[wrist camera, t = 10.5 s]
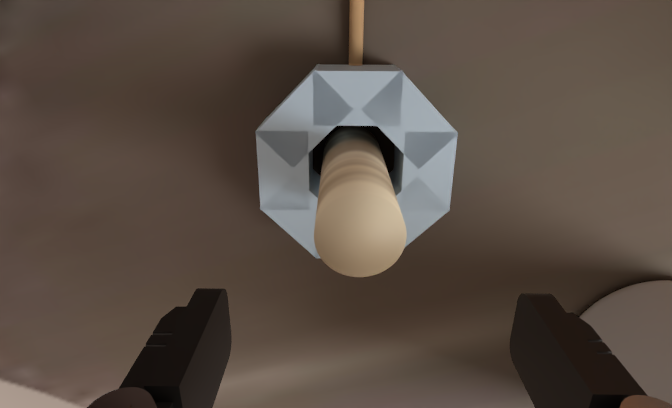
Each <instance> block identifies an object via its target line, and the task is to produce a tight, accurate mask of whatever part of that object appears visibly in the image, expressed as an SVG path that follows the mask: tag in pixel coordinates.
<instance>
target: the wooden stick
mask: <svg viewBox="0 0 672 408" xmlns="http://www.w3.org/2000/svg"><path fill="white" fill-rule="evenodd" d="M363 26H364V0H350V15H349V65H351V66H361V65H362V63H363Z"/></svg>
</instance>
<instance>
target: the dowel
mask: <svg viewBox="0 0 672 408" xmlns="http://www.w3.org/2000/svg"><path fill="white" fill-rule="evenodd" d="M406 238H407V231H406V226H405V222H404V219H403V216H402V213H401V210H400V207H399V204H398V201H397V198H396V195H395V192H394V189H393V186H392V183H391V180H390V177H389V174H388V171H387V168H386V165H385V162H384V159H383V156H382V153H381V150H380V146H379V143H378V141H377V139H376V138H375V136H374V135H373V134H372V133H371V132H370V131H368V130H367V129H365V128H362V127H359V126H345V127H342V128H340V129H338V130H336V131H335V132H333V133H332V134H331V135H330V137H329V138H328V139H327V141H326V144H325V147H324V153H323V161H322V170H321V178H320V186H319V194H318V203H317V211H316V219H315V228H314V243H315V247H316V250H317V253H318V254H319V256H320V258H321V259H322V260H323V262H324V263H325V264H326V265H327V266H329V267H330V268H331V269H333V270H334V271H336V272H338V273H340V274H343V275H346V276H351V277H368V276H372V275H376V274H379V273H381V272H383V271H385V270H387V269H388V268H389V267H391V266H392V265H393V264H394V263H395V262H396V261H397V260H398V258H399V257H400V255H401V254H402V252H403V250H404V247H405V244H406Z"/></svg>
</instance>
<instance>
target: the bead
mask: <svg viewBox="0 0 672 408" xmlns="http://www.w3.org/2000/svg"><path fill="white" fill-rule="evenodd" d="M336 126H378V128H379V129H380V130H381V131H382V132H383V133H384V134H385V135H386V136H387V137H388V138H389V139H390V140H391V141H392V142H393V143H394V144H395V152H394V169H393V170H392V171H391V172H390V173H389V177H390V180H391V183H392V186H393V189H394V192H395V195H396V198H397V201H398V204H399V207H400V210H401V213H402V216H403V219H404V222H405V226H406V231H407V238H406V244H405V247H406V246H407V245H408V244H410V243H411V242H412V241H413V240H414V239H416V238H417V237H418V236H419V235H420V234H422V233H423V232H424V231H425V230H426V229H428V228H429V227H430V226H431V225H432V224H434V223H435V222H436V221H437V220H438V219H440V218H441V217H442V216H443V215H444V214H446V213H447V212H448V211H449V210H450V199H451V190H452V181H453V172H454V163H455V153H456V144H457V135H458V132H457V131H456V130H455V129H454V128H453V127H452V126H451V125H450V124H449V123H448V122H447V121H446V120H445V119H444V118H443V116H442V115H441V114H440V113H439V112H438V111H437V110H436V109H435V108H434V106H433V105H432V104H431V103H430V102H429V101H428V100H427V99H426V98H425V96H424V95H423V94H422V93H421V92H420V91H419V90H418V89H417V87H416V86H415V85H414V84H413V83H412V82H411V81H410V80H409V79H408V77H407V76H406V75H405V74H404V73H403V71H402V70H401V69H399V68H398V67H397V66H395V65H393V64H392V65H361V66H351V65H343V64H316V66H315V68H314V69H313V70H312V71H311V72H310V73H309V74H308V75H307V76H306V77H305V78H304V79H303V80H302V81H301V82H300V83H299V84H298V85H297V86H296V88H295V89H294V90H293V91H292V92H291V93H290V94H289V95H288V96H287V97H286V98H285V99H284V100H283V101H282V102H281V103H280V104H279V105H278V106H277V107H276V109H275V110H274V111H273V112H272V113H271V114H270V115H269V116H267V117H266V118H265V119H264V121H263V122H262V123H261V125H260V126H259V127H258V128H257V130H256V132H255V133H256V144H257V160H258V176H259V192H260V209H261V210H262V211H263V212H264V213H266V214H267V215H268V216H269V217H270V218H271V219H272V220H274V221H275V222H276V223H277V224H278V225H279V226H280V227H282V228H283V229H284V230H285V231H286V232H287V233H288V234H289V235H291V236H292V237H293V238H294V239H295V240H296V241H297V242H299V243H300V244H301V245H302V246H303V247H304V248H305V249H306V250H308V251H309V252H310V253H311V254H312V255H313V256H314V257H315V258H317V259H318V258H320V256H319V254H318V253H317V250H316V247H315V243H314V228H315V219H316V211H317V203H318V194H319V186H320V178H321V176H320V175H319V174H318V173H317V172H316V171H315V170H313V148H314V147H315V146H316V145H317V144H318V143H319V142H320V141H321V140H322V139H323V138H324V137H326V136H327V135H328V134H329V133H330V132H331V131H332V130H333V129H334V128H335V127H336ZM405 247H404V248H405Z"/></svg>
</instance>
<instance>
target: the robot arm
mask: <svg viewBox="0 0 672 408" xmlns="http://www.w3.org/2000/svg"><path fill="white" fill-rule="evenodd" d="M230 350H231V327H230V317H229V307H228V297H227V292H226V290H225V289H202V288H198V289H196V291H195V292H194V294H193V296H192V298H191V300H190V302H189V303H188V305H187V307H175V308H174V309H173V310H171V311H170V312H169V313H168V314H166V315H165V316H164V317H163V318H161V320H160V321H159V323H158V325H157V326H156V328H155V330H154V331H153V335H151V336H150V338H149V340H148V341H147V343H146V347H144V348H143V349H142V351H141V353H140V354H139V356H138V358H137V359H136V361H135V363H134V364H133V366H132V368H131V369H130V371H129V373H128V374H127V376H126V378H125V379H124V381H123V382H122V384H121V386H120V387H119V389H116V390H113V391H111V392H108V393H106V394H104V395H102V396H101V397H99V398H98V399H96V400H95V401H94V402H92V403H91V404H90V405H89V406H88V407H87V408H212V407H213V404H214V401H215V398H216V395H217V392H218V389H219V386H220V383H221V380H222V377H223V374H224V371H225V368H226V365H227V362H228V359H229V356H230ZM510 353H511V358H512V361H513V364H514V366H515V368H516V370H517V372H518V374H519V376H520V378H521V380H522V382H523V384H524V386H525V388H526V390H527V392H528V394H529V396H530V398H531V400H532V402H533V404H534V406H535V408H672V404H670V403H668V402H665V401H663V400H660V399H658V398H654V397H651V396H648V395H647V394H646V393H645V392H644V390H643V389H642V388H641V387H640V386H639V384H638V383H637V382H636V381H635V379H634V378H633V377H632V376H631V374H630V373H629V372H628V371H627V370H626V368H625V367H624V366H623V365H622V363H621V362H620V361H619V360H618V358H617V357H616V356H615V355H612V351H611V350H610V349H609V347H608V346H607V345H606V344H605V343H603V342H602V339H601V338H600V336H599V335H598V334H597V333H596V331H595V330H594V329H593V328H592V326H591V325H589V324H588V323H586V322H585V321H584V320H582V319H581V318H579V317H578V316H576V315H575V314H574V313H566V312H565V310H564V309H563V308H562V306H561V305H560V304H559V303H558V301H557V300H556V299H555V297H554V296H553V295H551V294H521V295H520V296H519V298H518V301H517V307H516V312H515V317H514V322H513V327H512V332H511V338H510Z"/></svg>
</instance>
